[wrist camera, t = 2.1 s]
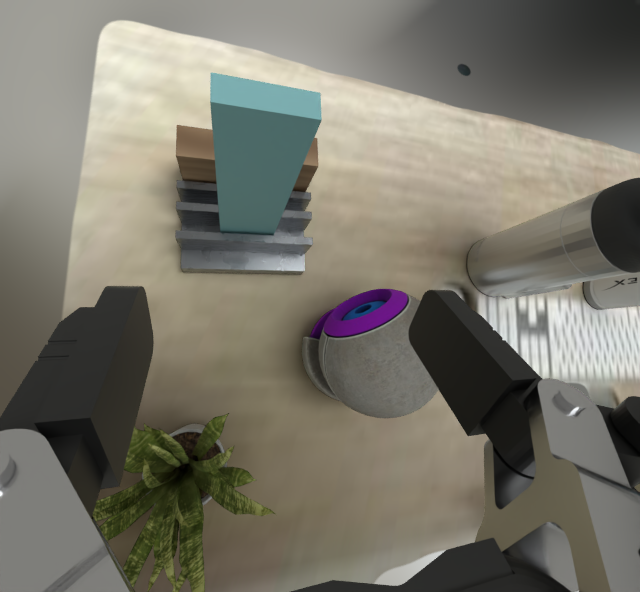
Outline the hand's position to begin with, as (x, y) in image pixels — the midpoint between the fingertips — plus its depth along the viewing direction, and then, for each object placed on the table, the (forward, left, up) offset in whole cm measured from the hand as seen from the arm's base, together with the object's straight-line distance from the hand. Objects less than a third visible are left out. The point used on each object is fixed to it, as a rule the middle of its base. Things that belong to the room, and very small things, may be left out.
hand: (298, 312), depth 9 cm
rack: (+7, -13, -30) cm, 33 cm away
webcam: (-13, -5, -30) cm, 33 cm away
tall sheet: (+6, -10, -28) cm, 30 cm away
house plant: (0, +13, -30) cm, 33 cm away
